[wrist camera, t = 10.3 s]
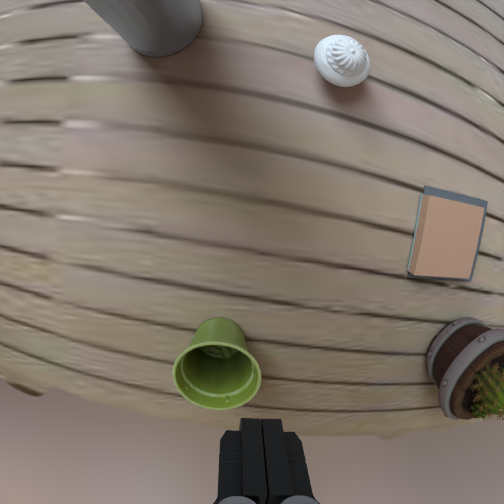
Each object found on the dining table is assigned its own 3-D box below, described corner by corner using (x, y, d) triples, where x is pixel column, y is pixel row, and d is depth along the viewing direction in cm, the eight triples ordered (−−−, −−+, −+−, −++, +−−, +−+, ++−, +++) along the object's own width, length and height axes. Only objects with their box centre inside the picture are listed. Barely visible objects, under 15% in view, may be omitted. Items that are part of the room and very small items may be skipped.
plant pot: (268, 318, 39) (276, 358, 31) (242, 375, 42) (242, 418, 33) (196, 294, 38) (185, 329, 30) (175, 354, 41) (163, 395, 32)
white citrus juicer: (364, 59, 31) (389, 42, 24) (349, 101, 33) (372, 90, 26) (317, 37, 30) (333, 13, 24) (299, 79, 32) (313, 61, 25)
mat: (424, 185, 36) (425, 186, 35) (486, 201, 36) (487, 201, 36) (407, 276, 39) (408, 277, 39) (470, 280, 40) (470, 281, 39)
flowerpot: (494, 331, 43) (564, 392, 23) (435, 394, 45) (489, 472, 26) (465, 283, 40) (556, 348, 20) (395, 358, 42) (460, 453, 23)
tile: (429, 195, 34) (484, 207, 34) (421, 193, 36) (475, 205, 36) (414, 275, 36) (469, 278, 37) (406, 269, 38) (461, 274, 39)
